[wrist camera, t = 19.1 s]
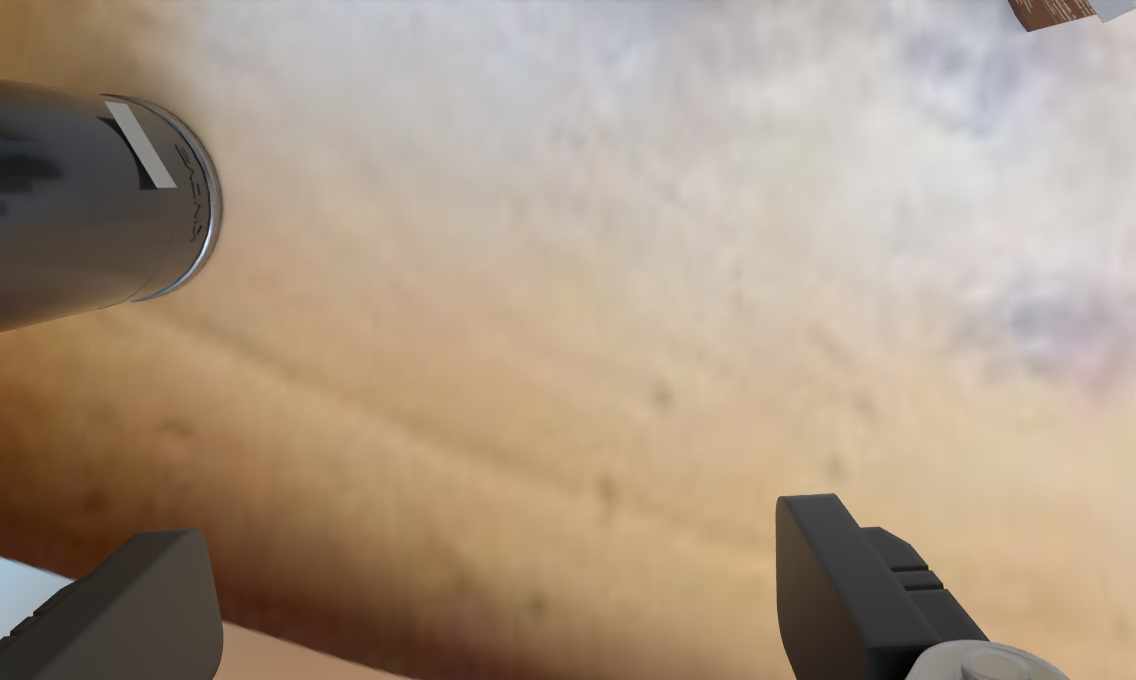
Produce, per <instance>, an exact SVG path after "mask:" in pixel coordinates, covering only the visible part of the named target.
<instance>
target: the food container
mask: <svg viewBox="0 0 1136 680" xmlns="http://www.w3.org/2000/svg"><path fill="white" fill-rule="evenodd" d="M1008 1H1009V3H1010V5H1011V7H1012V9H1013V11H1014V13H1015V15H1016V17H1017V18H1018V20H1019V21H1020V22H1021V24H1022V25H1023V27H1024V28H1025V29H1026V31H1027V32H1030V31H1034V30H1038V29H1042V28H1046V27H1049V26H1053V25H1057V24H1061V23H1065V22H1069V21H1073V20H1076V19H1080V18H1084V17H1088V16H1092V15H1096V14H1097V15H1098V17H1099V18H1100V20H1101V21H1102V22H1103V23H1105V22H1107V21H1109V20H1111V19H1113V18H1116V17H1118V16H1120V15H1122V14H1124V13H1126V12H1129V11H1131V10H1133V9H1135V8H1136V0H1008Z"/></svg>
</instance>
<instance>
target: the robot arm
mask: <svg viewBox="0 0 1136 680" xmlns="http://www.w3.org/2000/svg"><path fill="white" fill-rule="evenodd" d="M221 215H222V202H221V193H220V188H219V183H218V179H217V176H216V173H215V170H214V167H213V165H212V162H211V160H210V159H209V157H208V155H207V153H206V151H205V149H204V148H203V146H202V145H201V143H200V142H199V141H198V139H197V138H196V137H195V135H194V134H193V133H192V132H191V131H190V130H189V129H188V128H187V127H186V126H185V125H184V124H183V123H182V122H181V121H180V120H178V119H177V118H176V117H174V116H173V115H172V114H170V113H169V112H167V111H166V110H164V109H162V108H160V107H158V106H156V105H154V104H152V103H149V102H146V101H144V100H140V99H136V98H131V97H125V96H119V95H109V94H99V95H97V94H90V93H84V92H79V91H73V90H68V89H61V88H55V87H48V86H42V85H35V84H29V83H22V82H16V81H9V80H3V79H0V332H4V331H8V330H12V329H17V328H21V327H25V326H29V325H33V324H37V323H41V322H46V321H50V320H54V319H58V318H62V317H66V316H70V315H75V314H79V313H83V312H87V311H91V310H95V309H101V308H105V307H109V306H113V305H117V304H122V303H126V302H135V301H143V300H147V299H151V298H155V297H160V296H163V295H166V294H168V293H171V292H173V291H175V290H177V289H179V288H180V287H182V286H183V285H185V284H186V283H187V282H189V281H190V280H191V279H192V278H193V277H194V276H195V275H196V274H198V272H199V271H200V270H201V269H202V268H203V266H204V265H205V263H206V262H207V260H208V259H209V257H210V255H211V253H212V251H213V249H214V247H215V244H216V242H217V238H218V235H219V230H220V225H221ZM776 582H777V612H778V620H779V627H780V633H781V637H782V642H783V645H784V648H785V651H786V654H787V656H788V659H789V661H790V664H791V666H792V669H793V671H794V674H795V676H796V679H797V680H1070V679H1069V678H1068V677H1067V676H1066V675H1064V674H1063V673H1062V672H1061V671H1060V670H1059V669H1057V668H1056V667H1054V666H1053V665H1051V664H1050V663H1048V662H1047V661H1045V660H1043V659H1041V658H1039V657H1037V656H1035V655H1033V654H1031V653H1028V652H1026V651H1024V650H1021V649H1017V648H1014V647H1011V646H1008V645H1004V644H999V643H995V642H990V640H989V639H988V638H987V637H986V636H985V634H984V633H983V632H982V631H981V630H980V628H979V627H978V626H977V625H976V623H975V622H974V621H973V620H972V619H971V617H970V616H969V615H968V614H967V613H966V611H965V610H964V609H963V608H962V607H961V605H960V604H959V603H958V602H957V600H956V599H955V598H954V597H953V596H952V594H951V593H950V592H949V591H948V590H947V589H944V587H943V583H942V582H941V581H940V580H939V579H938V577H937V576H936V575H935V574H934V573H933V571H932V570H931V571H929V569H928V565H927V564H926V563H925V562H924V560H923V559H922V558H921V557H920V556H919V554H918V553H917V552H916V551H915V549H914V548H913V547H912V546H911V545H910V544H909V543H907V542H905V541H903V540H902V539H900V538H898V537H896V536H895V535H893V534H891V533H889V532H888V531H886V530H884V529H882V528H880V527H867V528H860V527H859V526H858V524H857V523H856V521H855V520H854V519H853V517H852V516H851V515H850V513H849V512H848V510H847V509H846V508H845V506H844V505H843V504H842V502H841V501H840V499H839V498H838V497H837V496H836V494H834V493H832V494H814V495H797V496H780V497H779V498H778V500H777V504H776ZM222 649H223V627H222V621H221V616H220V610H219V605H218V600H217V594H216V589H215V583H214V578H213V572H212V567H211V562H210V556H209V551H208V546H207V542H206V540H205V538H204V536H203V534H202V533H201V532H200V531H199V530H198V529H195V528H192V529H174V530H156V531H141V532H138V533H137V534H135V535H134V536H133V537H132V538H130V539H129V540H128V541H127V542H126V543H125V544H123V545H122V546H121V547H120V548H119V549H118V550H116V551H115V552H114V553H113V554H112V555H111V556H109V557H108V558H107V559H106V560H105V561H104V562H102V563H101V564H100V565H99V566H98V567H97V568H95V569H94V570H93V571H92V572H91V573H90V574H88V575H86V576H84V577H82V578H80V579H78V580H77V581H75V582H73V583H71V584H69V585H67V586H65V587H64V588H62V589H60V590H59V591H58V592H57V593H55V594H54V595H53V596H52V597H51V598H49V599H48V600H47V601H46V602H45V603H44V604H42V605H41V606H40V607H39V608H38V609H36V610H35V611H34V612H33V617H27V618H26V619H25V620H23V621H22V622H21V623H20V624H19V625H17V626H16V627H15V628H14V629H13V630H11V631H10V636H5V637H3V638H2V639H1V640H0V680H212V679H213V677H214V676H215V674H216V672H217V670H218V667H219V664H220V661H221V656H222V651H223V650H222Z"/></svg>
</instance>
